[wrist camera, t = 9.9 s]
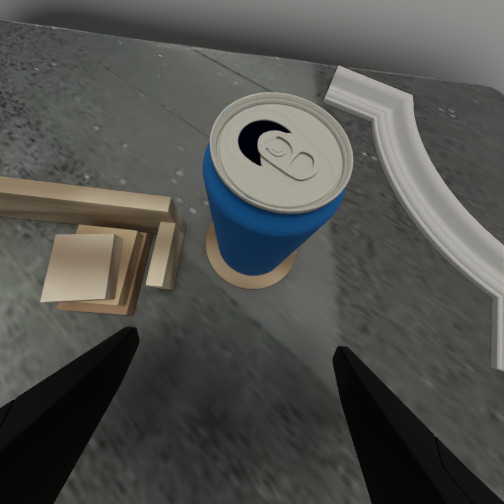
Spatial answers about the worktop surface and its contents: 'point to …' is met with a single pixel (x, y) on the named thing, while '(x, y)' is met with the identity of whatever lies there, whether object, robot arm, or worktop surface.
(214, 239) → the cork coaster
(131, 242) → the offcut stack
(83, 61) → the worktop surface
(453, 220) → the molding
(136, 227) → the rack
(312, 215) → the beverage can
